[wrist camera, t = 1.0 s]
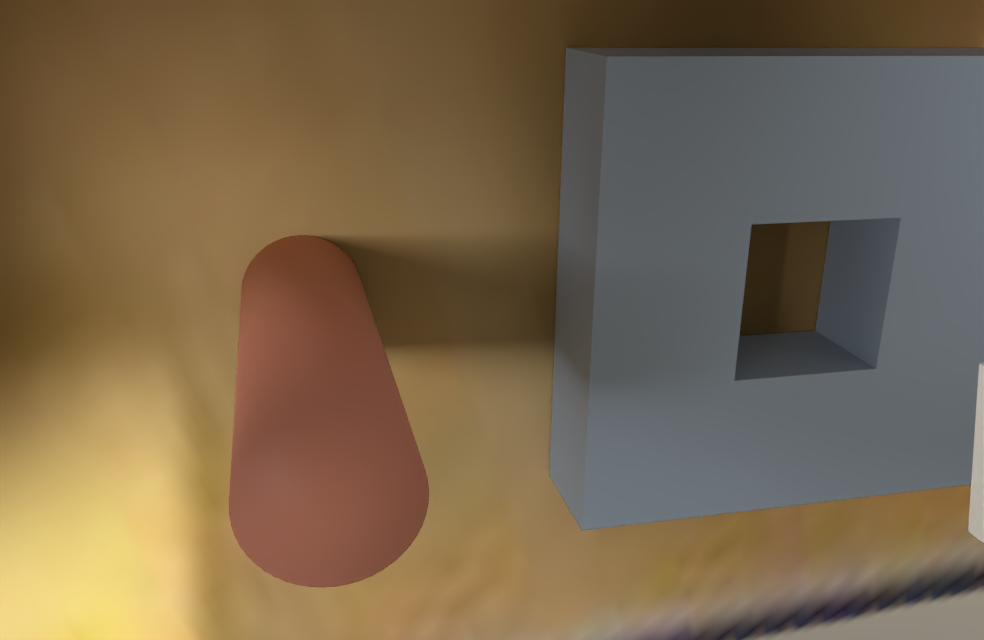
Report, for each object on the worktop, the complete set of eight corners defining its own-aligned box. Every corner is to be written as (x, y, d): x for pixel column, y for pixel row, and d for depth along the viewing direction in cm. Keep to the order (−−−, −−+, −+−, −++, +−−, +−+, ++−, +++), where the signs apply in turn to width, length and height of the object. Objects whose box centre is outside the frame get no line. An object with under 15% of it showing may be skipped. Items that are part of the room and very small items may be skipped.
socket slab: (549, 475, 36) (581, 530, 33) (565, 47, 31) (606, 56, 27) (909, 437, 40) (975, 484, 36) (980, 47, 35) (1066, 55, 31)
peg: (246, 351, 32) (236, 598, 19) (237, 238, 31) (220, 422, 18) (363, 343, 33) (429, 574, 20) (359, 232, 32) (428, 404, 19)
